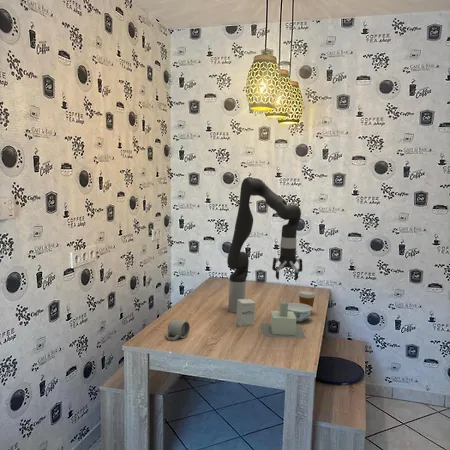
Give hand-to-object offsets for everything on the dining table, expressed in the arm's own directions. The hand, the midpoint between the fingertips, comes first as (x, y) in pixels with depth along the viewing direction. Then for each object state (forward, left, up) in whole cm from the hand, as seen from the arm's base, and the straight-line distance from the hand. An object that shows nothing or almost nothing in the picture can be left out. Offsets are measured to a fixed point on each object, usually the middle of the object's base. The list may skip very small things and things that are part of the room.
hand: (286, 279), depth 210 cm
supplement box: (-19, +8, -27) cm, 34 cm away
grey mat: (-1, -1, -26) cm, 26 cm away
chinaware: (+9, +17, -27) cm, 33 cm away
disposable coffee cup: (+16, +31, -27) cm, 44 cm away
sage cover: (-1, -1, -25) cm, 25 cm away
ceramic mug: (-51, -12, -27) cm, 59 cm away
